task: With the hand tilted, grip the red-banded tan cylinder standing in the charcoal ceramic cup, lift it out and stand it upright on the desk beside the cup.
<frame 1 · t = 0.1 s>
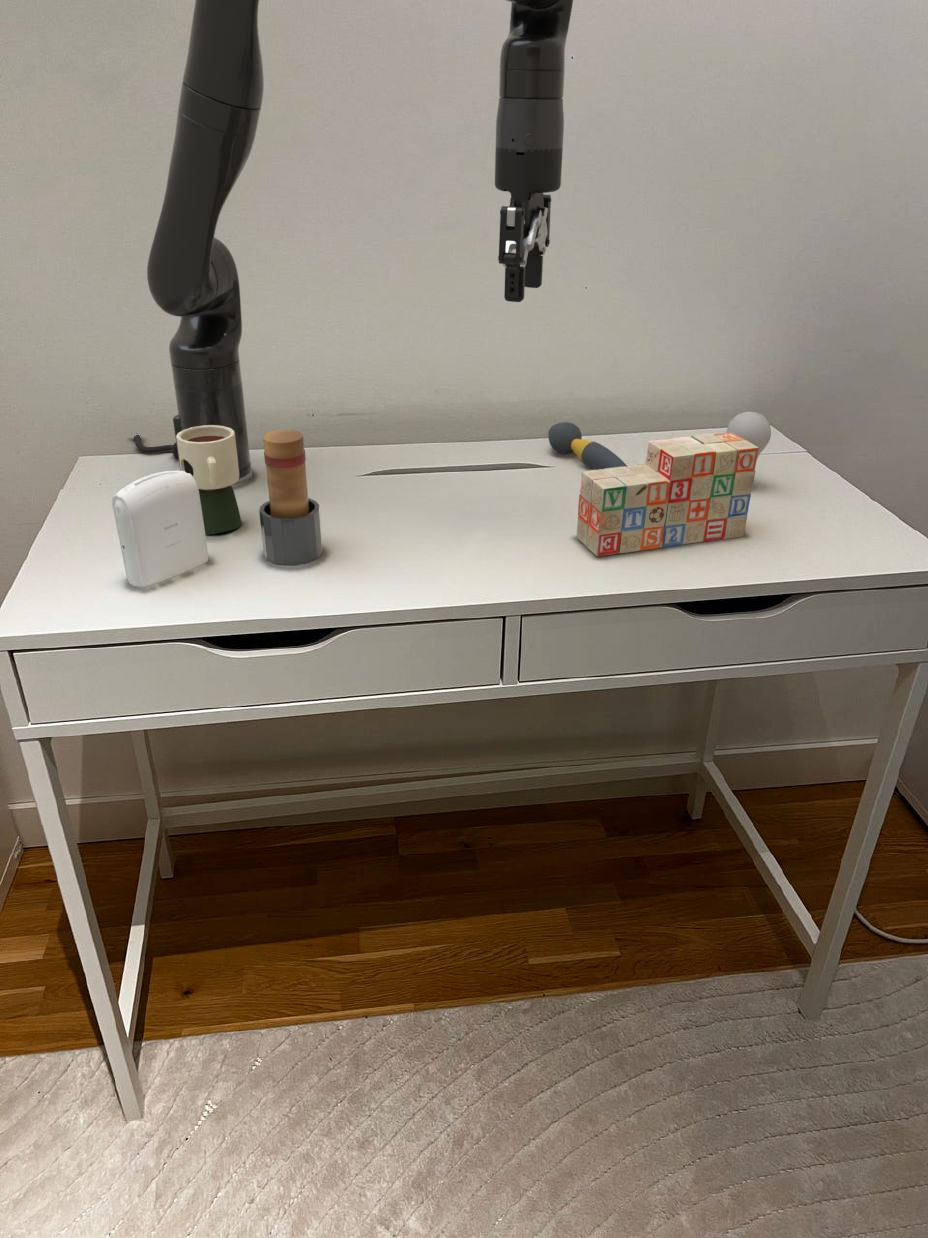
hand: (523, 293, 116), 29 cm above the table, tool pointing down, fingers open, 8 cm apart
lightbulb: (739, 487, 142), on the table
stack of blocks: (660, 538, 126), on the table
cup: (293, 556, 120), on the table
paintbrush: (587, 464, 149), on the table
character mug: (217, 530, 127), on the table
photo printer: (169, 574, 116), on the table
red-banded tan cylinder: (293, 552, 120), resting on cup
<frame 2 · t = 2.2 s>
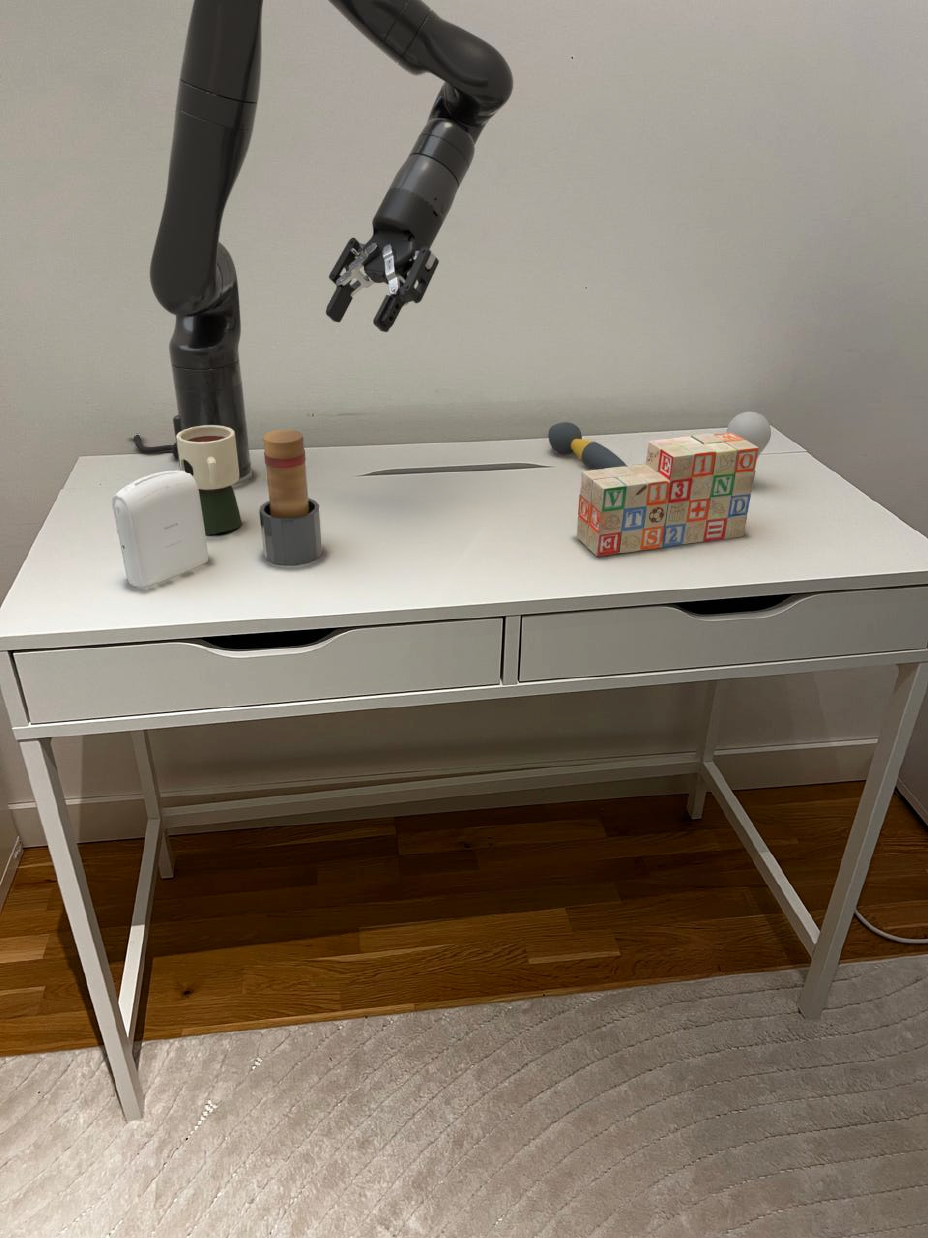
hand: (355, 323, 116), 26 cm above the table, tool tilted 40°, fingers open, 8 cm apart
nothing on the table moved.
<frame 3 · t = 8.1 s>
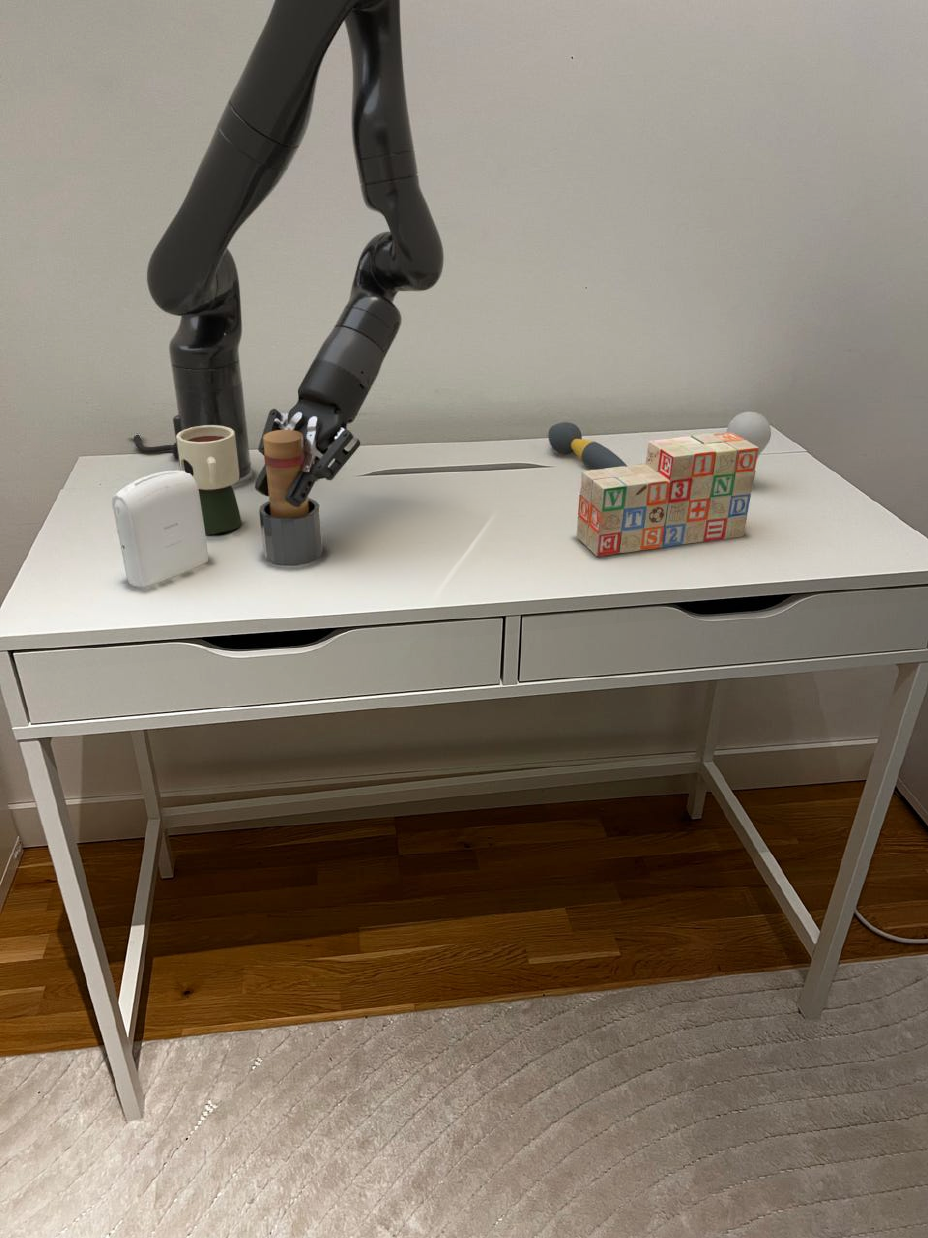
hand: (276, 497, 115), 8 cm above the table, tool tilted 45°, fingers closed on red-banded tan cylinder, 4 cm apart
red-banded tan cylinder: (293, 552, 120), point 1 cm above the table, touching cup, gripper
everything else where it was.
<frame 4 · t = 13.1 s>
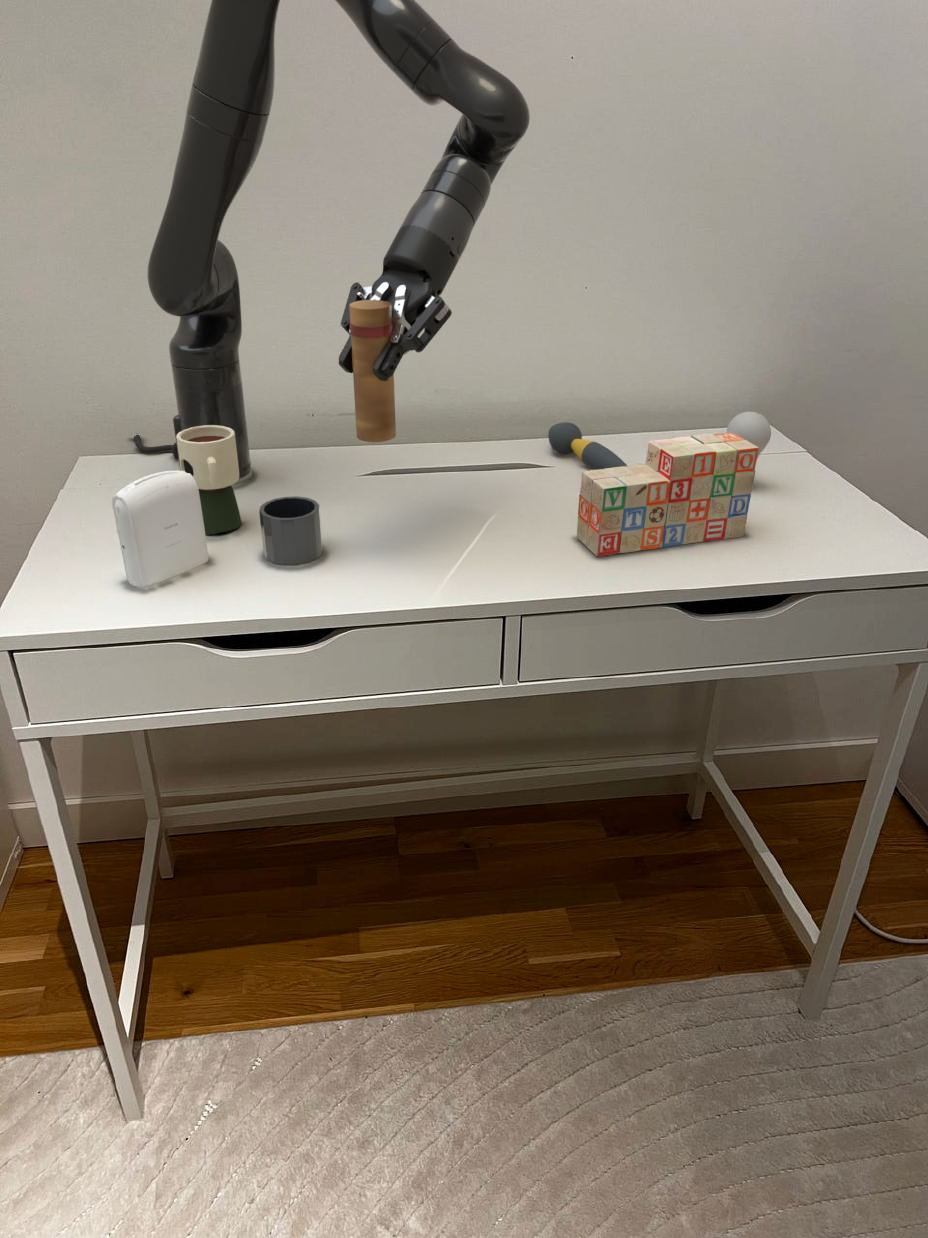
hand: (362, 372, 108), 23 cm above the table, tool tilted 45°, fingers closed on red-banded tan cylinder, 4 cm apart
red-banded tan cylinder: (376, 435, 114), point 15 cm above the table, touching gripper
everything else where it was.
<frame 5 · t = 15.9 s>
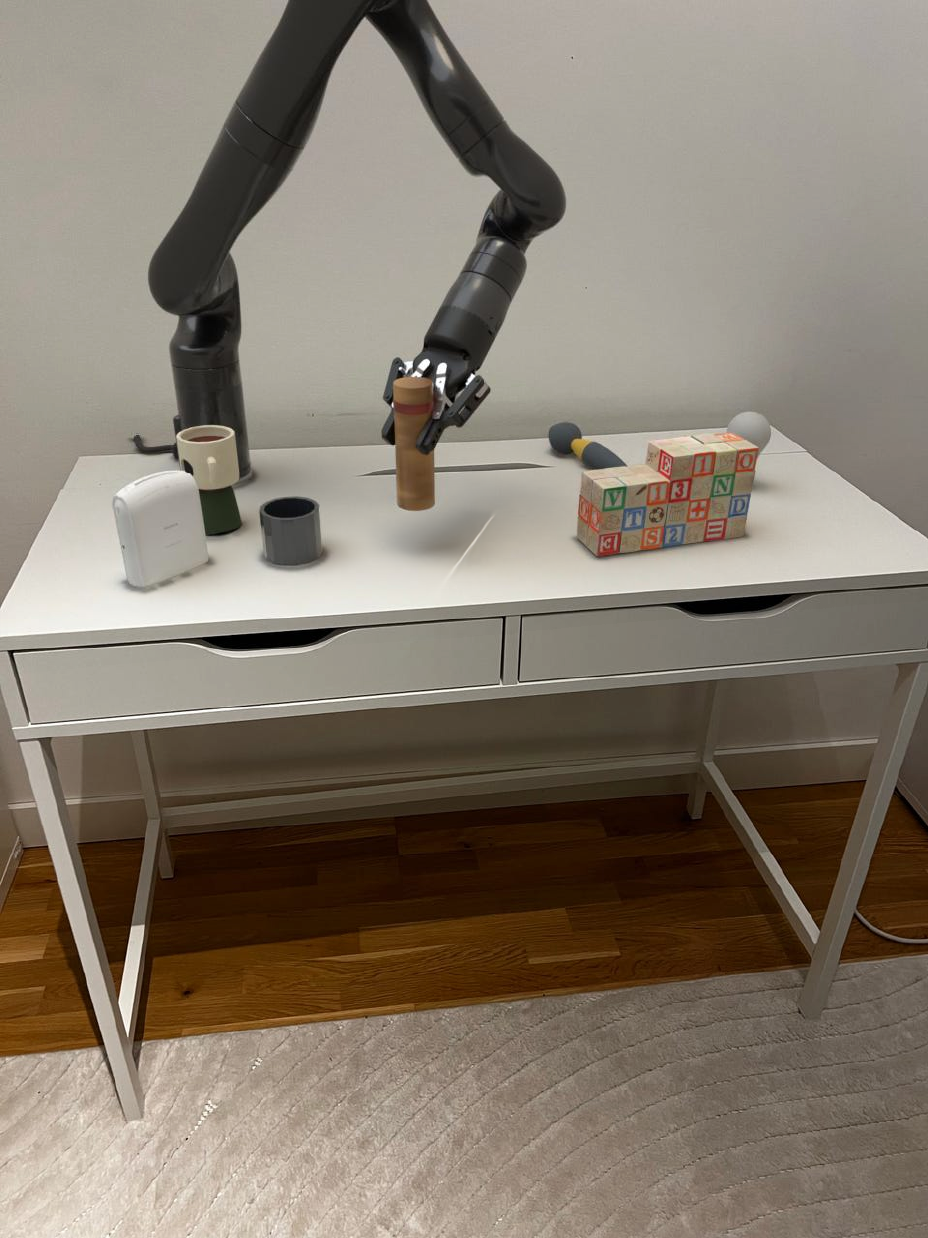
hand: (404, 445, 113), 14 cm above the table, tool tilted 45°, fingers closed on red-banded tan cylinder, 4 cm apart
red-banded tan cylinder: (416, 503, 118), point 7 cm above the table, touching gripper
everything else where it was.
when the fingers open (8 cm above the table, at t = 18.2 s): red-banded tan cylinder stays where it is, on the table.
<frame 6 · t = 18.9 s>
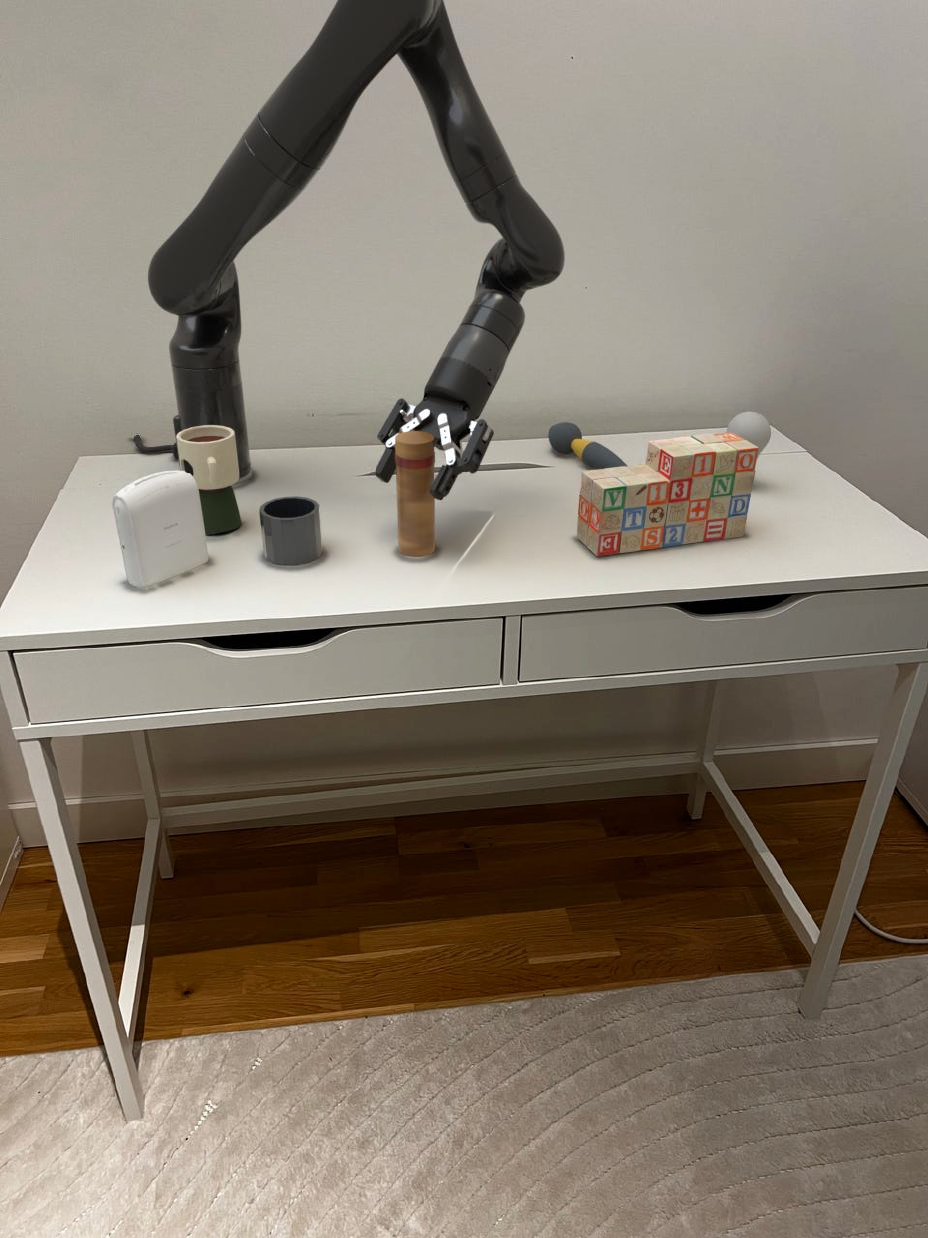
hand: (407, 488, 116), 9 cm above the table, tool tilted 45°, fingers open, 8 cm apart
red-banded tan cylinder: (416, 552, 122), on the table
everything else where it was.
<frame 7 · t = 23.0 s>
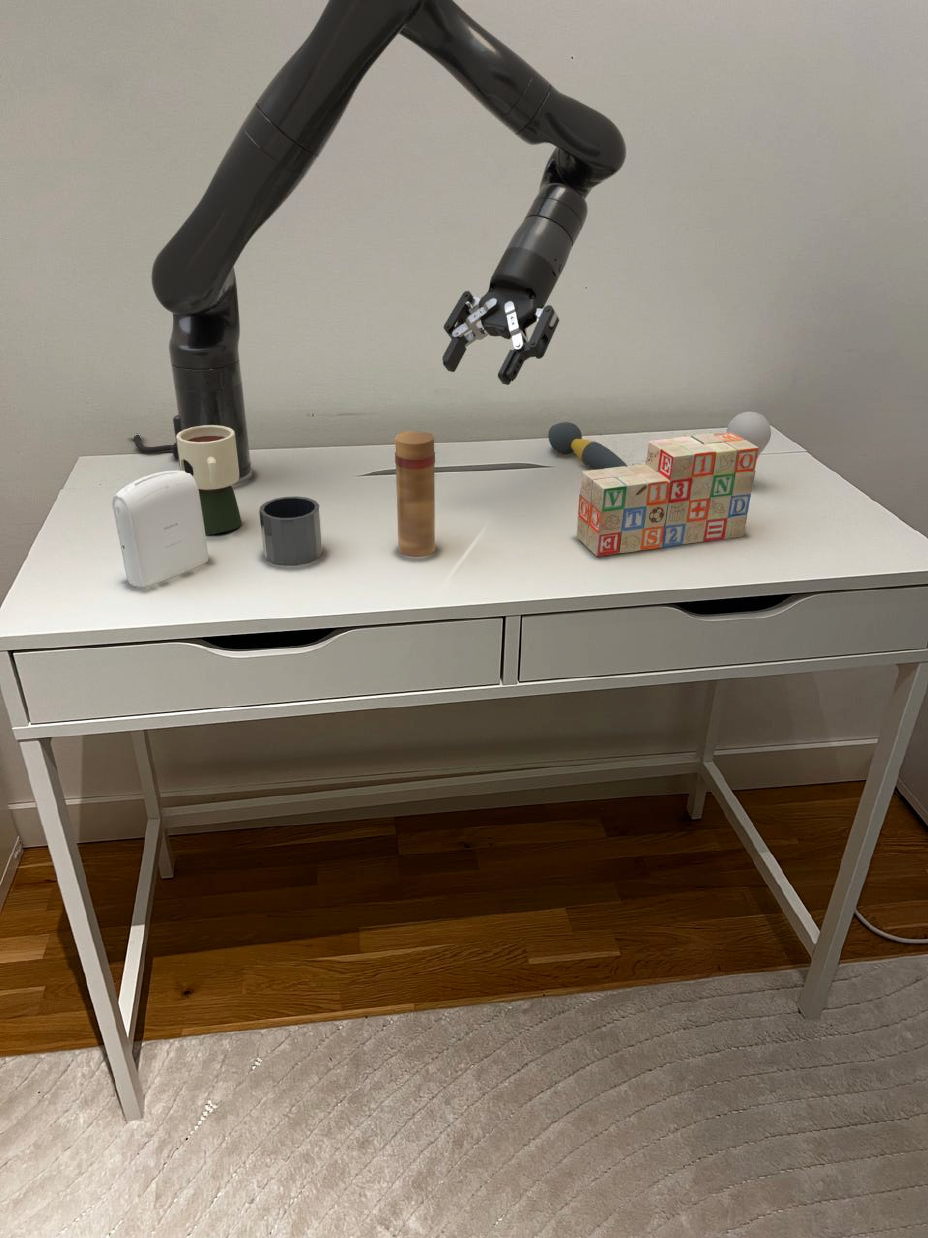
hand: (474, 374, 120), 20 cm above the table, tool tilted 45°, fingers open, 8 cm apart
nothing on the table moved.
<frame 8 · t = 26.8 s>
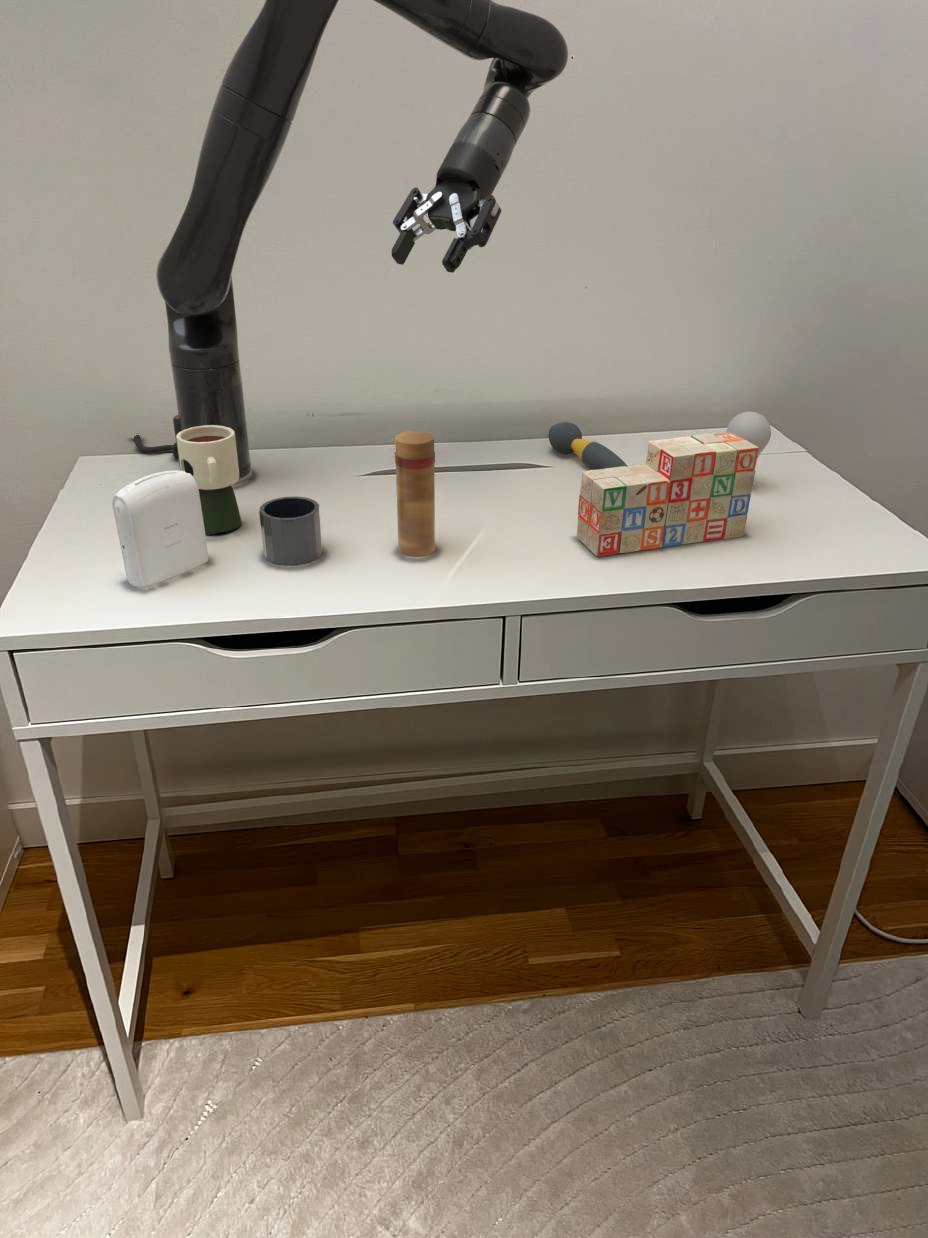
hand: (421, 264, 125), 31 cm above the table, tool tilted 45°, fingers open, 8 cm apart
nothing on the table moved.
at the end: red-banded tan cylinder inside the target area (0.0 cm from its centre), on the table; red-banded tan cylinder tilted 0°; the gripper is holding nothing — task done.
